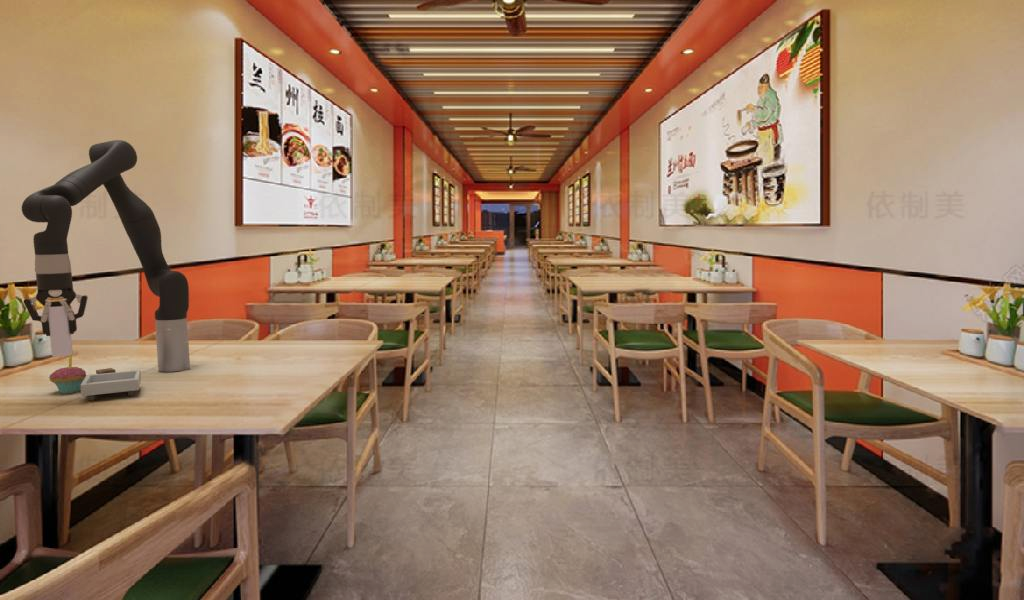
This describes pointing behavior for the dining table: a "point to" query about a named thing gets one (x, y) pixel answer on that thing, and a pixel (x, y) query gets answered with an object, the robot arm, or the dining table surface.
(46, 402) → the dining table surface
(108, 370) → the walnut block
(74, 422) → the dining table surface
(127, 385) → the cart
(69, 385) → the cupcake
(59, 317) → the perfume bottle
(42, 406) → the dining table surface
